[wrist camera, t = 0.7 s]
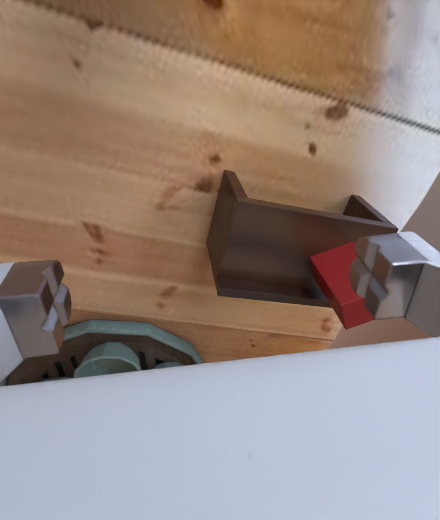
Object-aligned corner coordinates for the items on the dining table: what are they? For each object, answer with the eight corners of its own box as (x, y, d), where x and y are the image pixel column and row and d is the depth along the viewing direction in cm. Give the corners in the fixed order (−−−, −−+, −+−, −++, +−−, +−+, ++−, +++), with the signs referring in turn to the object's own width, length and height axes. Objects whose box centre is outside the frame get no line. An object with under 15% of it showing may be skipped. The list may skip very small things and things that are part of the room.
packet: (309, 256, 48) (340, 305, 39) (353, 240, 47) (394, 286, 39) (314, 279, 50) (345, 330, 42) (356, 264, 50) (396, 312, 41)
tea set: (216, 432, 85) (227, 511, 71) (40, 459, 81) (15, 547, 68) (208, 301, 64) (221, 377, 50) (-34, 329, 60) (-92, 420, 46)
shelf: (224, 169, 51) (242, 210, 40) (360, 196, 56) (409, 238, 45) (206, 242, 57) (217, 295, 46) (330, 260, 62) (367, 311, 51)
